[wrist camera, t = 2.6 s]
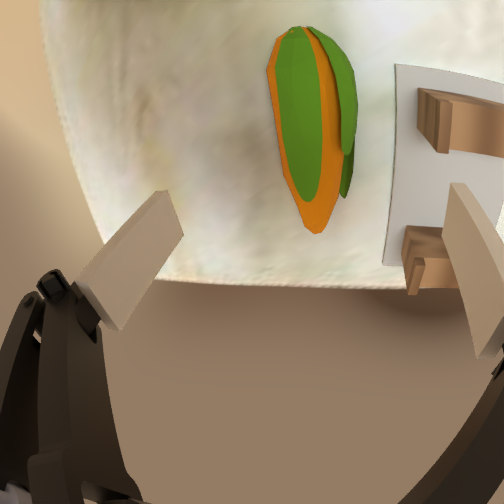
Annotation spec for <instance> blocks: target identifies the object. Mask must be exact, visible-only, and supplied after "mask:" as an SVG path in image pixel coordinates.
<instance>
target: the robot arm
mask: <svg viewBox="0 0 504 504" xmlns="http://www.w3.org/2000/svg"><path fill="white" fill-rule="evenodd" d="M183 236H184V234H183V231H182V228H181V226H180V223H179V220H178V218H177V215H176V212H175V209H174V206H173V204H172V201H171V198H170V195H169V192H168V190H165V191H156V192H155V193H154V194H153V195H152V196H151V197H150V198H149V199H148V200H147V201H146V202H145V203H144V204H143V205H142V206H141V207H140V208H139V209H138V210H137V211H136V212H135V213H134V214H133V215H132V216H131V217H130V218H129V219H128V220H127V221H126V222H125V223H124V224H123V226H122V227H121V228H120V229H119V230H118V231H117V232H116V233H115V234H114V235H113V236H112V238H111V239H110V240H109V241H108V242H107V243H106V244H105V245H104V247H103V248H102V249H101V250H100V251H99V252H98V253H97V255H96V256H95V257H94V258H93V259H92V260H91V261H90V263H89V264H88V265H87V266H86V267H85V269H84V270H83V271H82V272H81V273H80V275H79V276H78V277H77V278H76V280H75V281H74V282H73V283H72V285H71V286H70V285H69V284H68V282H67V281H66V279H65V277H64V276H63V274H62V273H61V271H60V270H58V269H54V270H51V271H49V272H48V273H46V274H45V275H44V276H43V277H42V278H41V279H40V280H39V281H38V283H37V285H36V286H37V288H38V290H39V291H40V292H41V294H42V295H43V297H44V298H45V299H42V298H41V296H40V295H39V293H38V292H36V291H33V292H31V293H28V294H27V295H25V296H24V298H23V299H22V300H21V302H20V304H19V306H18V308H17V310H16V312H15V315H14V317H13V319H12V322H11V324H10V326H9V329H8V332H7V334H6V336H5V339H4V342H3V344H2V347H1V350H0V504H84V500H83V498H85V499H88V500H91V501H94V502H96V503H98V504H151V503H147V502H143V499H142V496H141V493H140V491H139V488H138V486H137V484H136V483H135V481H134V480H133V479H132V478H131V477H130V476H129V474H128V473H127V471H126V469H125V466H124V462H123V458H122V455H121V451H120V447H119V442H118V438H117V433H116V429H115V424H114V419H113V414H112V408H111V404H110V397H109V392H108V384H107V378H106V370H105V362H104V354H103V344H102V333H101V328H100V327H99V325H98V323H99V321H100V320H102V321H103V322H104V324H105V325H106V326H107V328H109V329H113V330H117V331H121V330H122V328H123V327H124V325H125V323H126V322H127V320H128V319H129V317H130V315H131V314H132V312H133V311H134V309H135V307H136V306H137V304H138V303H139V301H140V300H141V298H142V297H143V295H144V293H145V292H146V290H147V289H148V287H149V286H150V284H151V282H152V281H153V280H154V278H155V277H156V275H157V274H158V272H159V271H160V269H161V268H162V266H163V265H164V263H165V262H166V260H167V259H168V257H169V256H170V254H171V253H172V251H173V250H174V249H175V247H176V246H177V244H178V243H179V241H180V240H181V238H182V237H183ZM442 238H443V241H444V244H445V246H446V249H447V252H448V255H449V257H450V260H451V263H452V266H453V269H454V272H455V275H456V278H457V282H458V285H459V288H460V291H461V295H462V298H463V301H464V306H465V309H466V313H467V317H468V321H469V325H470V330H471V334H472V339H473V343H474V348H475V354H476V358H477V359H484V358H493V357H495V356H496V355H497V353H498V352H499V350H500V349H501V347H502V348H503V352H504V244H503V242H502V240H501V238H500V236H499V235H498V233H497V231H496V230H495V228H494V226H493V225H492V223H491V221H490V220H489V218H488V216H487V215H486V213H485V212H484V210H483V209H482V207H481V206H480V204H479V202H478V201H477V199H476V198H475V197H474V195H473V194H472V192H471V191H470V189H469V188H468V187H467V185H466V184H465V183H452V182H450V188H449V195H448V202H447V208H446V214H445V220H444V225H443V231H442ZM34 330H35V331H36V332H37V333H38V335H39V336H40V337H41V343H39V342H38V341H37V340H36V339H35V337H34V336H33V333H34ZM491 374H492V375H493V377H492V379H491V381H490V383H489V385H488V386H487V388H486V390H485V392H484V393H483V395H482V397H481V398H480V400H479V402H478V403H477V405H476V407H475V408H474V410H473V412H472V413H471V415H470V416H469V418H468V419H467V421H466V422H465V424H464V425H463V427H462V428H461V430H460V431H459V432H458V434H457V435H456V437H455V438H454V439H453V441H452V442H451V443H450V445H449V446H448V448H447V449H446V450H445V451H444V453H443V454H442V455H441V456H440V458H439V459H438V460H437V461H436V463H435V464H434V465H433V466H432V467H431V469H430V470H429V471H428V472H427V473H426V474H425V475H424V477H423V478H422V479H421V480H420V481H419V482H418V483H417V484H416V486H415V487H414V488H413V489H412V490H411V491H410V492H409V493H408V494H407V495H406V496H405V497H404V498H403V499H402V500H401V501H400V502H399V503H398V504H487V503H488V501H489V500H490V499H491V497H492V496H493V494H494V493H495V491H496V490H497V488H498V487H499V485H500V484H501V482H502V480H503V479H504V358H503V359H502V360H501V362H500V363H499V364H498V366H497V367H496V368H495V370H494V371H493V372H492V373H491Z"/></svg>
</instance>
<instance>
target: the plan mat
mask: <svg viewBox="0 0 504 504" xmlns="http://www.w3.org/2000/svg"><path fill="white" fill-rule="evenodd" d="M395 76H396V140H395V160H394V174H393V186H392V196H391V206H390V214H389V222H388V230H387V237H386V244H385V250H384V256H383V265H387V266H403V262H402V256H401V251H402V246H403V240H404V235H405V230H406V225H413V226H428V227H442V228H443V225H444V220H445V214H446V208H447V202H448V195H449V188H450V182H452V183H465V184H466V185H467V187H468V188H469V189H470V191H471V192H472V194H473V195H474V197H475V198H476V199H477V201H478V202H479V204H480V206H481V207H482V209H483V210H484V212H485V213H486V215H487V216H488V218H489V220H490V221H491V223H492V225H493V226H494V228H496V225H497V222H498V218H499V215H500V212H501V208H502V205H503V201H504V158H499V157H494V156H489V155H483V154H477V153H471V152H465V151H458V150H451V149H449V154H443V153H437V152H436V151H435V150H434V148H433V147H432V146H431V144H430V143H429V142H428V141H427V140H426V138H425V137H424V136H423V135H422V133H421V132H420V131H419V130H418V129H417V112H418V87H419V88H426V89H434V90H440V91H446V92H452V93H458V94H463V95H468V96H473V97H477V98H482V99H486V100H490V101H494V102H498V103H502V104H504V84H500V83H497V82H493V81H489V80H486V79H482V78H478V77H473V76H469V75H464V74H460V73H455V72H450V71H444V70H438V69H432V68H425V67H418V66H410V65H401V64H395Z"/></svg>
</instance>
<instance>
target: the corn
mask: <svg viewBox="0 0 504 504" xmlns="http://www.w3.org/2000/svg"><path fill="white" fill-rule="evenodd" d="M306 27H307V26H306ZM266 71H267V77H268V82H269V88H270V94H271V99H272V105H273V111H274V117H275V123H276V129H277V135H278V142H279V148H280V155H281V161H282V168H283V175H284V177H285V179H286V182H287V184H288V186H289V188H290V191H291V193H292V195H293V197H294V200H295V202H296V204H297V206H298V209H299V212H300V215H301V217H302V220H303V223H304V226H305V227H306V228H307V229H309V230H310V231H311V232H312V233H313V234H317V233H321V232H322V231H323V230H324V228H325V227H326V225H327V223H328V220H329V218H330V216H331V213H332V211H333V208H334V206H335V203H336V201H337V199H338V196H339V192H340V194H341V196H342V197H343V198H346V196H347V193H348V190H349V186H350V182H351V178H352V173H353V163H354V145H355V133H356V126H357V113H358V101H357V93H356V84H355V77H354V71H353V69H352V66H351V64H350V62H349V60H348V58H347V56H346V54H345V53H344V52H343V51H342V50H341V48H340V47H339V46H338V45H337V44H336V43H335V42H334V41H333V39H331V38H330V37H328V36H326V35H325V34H323V33H321V32H320V31H318V30H316V29H314V28H313V27H308V28H305V27H301V26H299V27H292V28H291V29H289V31H287V32H286V33H284V34H283V35H281V36H280V37H278V38H277V39H276V42H275V45H274V48H273V51H272V54H271V57H270V61H269V64H268V67H267V70H266Z"/></svg>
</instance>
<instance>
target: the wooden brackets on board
mask: <svg viewBox="0 0 504 504" xmlns="http://www.w3.org/2000/svg"><path fill="white" fill-rule="evenodd" d="M417 129H418V130H419V131H420V132H421V133H422V135H423V136H424V137H425V138H426V140H427V141H428V142H429V143H430V144H431V146H432V147H433V148H434V150H435V151H436V152H437V153H443V154H449V149H451V150H458V151H465V152H471V153H477V154H483V155H489V156H494V157H499V158H504V104H502V103H498V102H494V101H490V100H486V99H482V98H477V97H473V96H468V95H463V94H458V93H452V92H446V91H440V90H434V89H426V88H419V87H418V112H417ZM442 231H443V228H442V227H428V226H413V225H406V230H405V235H404V240H403V246H402V251H401V256H402V262H403V267H404V273H405V279H406V286H407V293H408V295H417V292H418V289H419V287H437V288H459V285H458V282H457V278H456V275H455V272H454V269H453V266H452V263H451V260H450V257H449V255H448V252H447V249H446V246H445V244H444V241H443V238H442Z"/></svg>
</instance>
